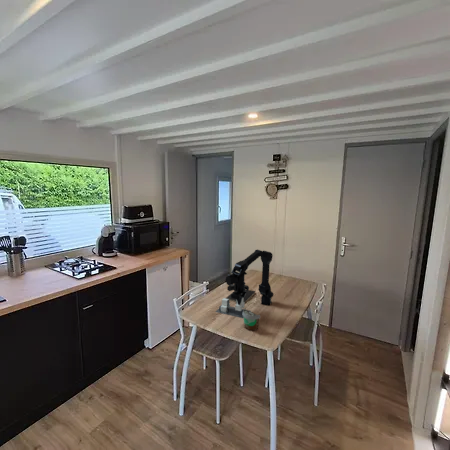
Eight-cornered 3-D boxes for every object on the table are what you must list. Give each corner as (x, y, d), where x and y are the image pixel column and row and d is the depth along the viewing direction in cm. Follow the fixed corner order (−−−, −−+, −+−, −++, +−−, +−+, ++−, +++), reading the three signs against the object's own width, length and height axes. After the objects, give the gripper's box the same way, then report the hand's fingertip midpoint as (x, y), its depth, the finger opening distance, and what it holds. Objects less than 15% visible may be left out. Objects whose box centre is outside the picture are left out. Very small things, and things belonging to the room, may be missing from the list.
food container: (238, 326, 158) (238, 311, 157) (244, 322, 162) (244, 308, 161) (253, 334, 149) (253, 318, 148) (260, 330, 154) (260, 314, 152)
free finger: (244, 306, 176) (244, 296, 175) (240, 311, 170) (240, 300, 169) (238, 305, 178) (238, 295, 177) (234, 309, 172) (234, 299, 171)
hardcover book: (255, 293, 208) (255, 291, 208) (244, 305, 188) (244, 302, 188) (237, 290, 216) (237, 287, 215) (224, 300, 196) (224, 298, 195)
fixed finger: (230, 308, 181) (230, 298, 180) (226, 312, 175) (226, 302, 174) (224, 306, 183) (224, 297, 182) (220, 311, 177) (220, 300, 176)
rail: (251, 311, 177) (251, 308, 177) (245, 319, 167) (245, 315, 166) (222, 305, 187) (222, 302, 186) (215, 312, 176) (215, 309, 175)
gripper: (234, 275, 183) (234, 296, 185) (223, 284, 166) (223, 307, 169) (249, 277, 178) (249, 299, 181) (239, 287, 162) (239, 310, 164)
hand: (240, 303), depth 173 cm, fingers closed on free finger, 3 cm apart
